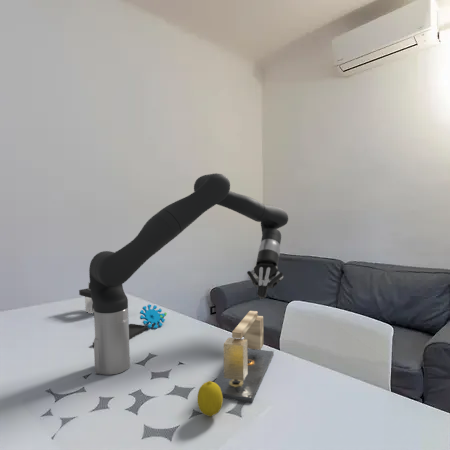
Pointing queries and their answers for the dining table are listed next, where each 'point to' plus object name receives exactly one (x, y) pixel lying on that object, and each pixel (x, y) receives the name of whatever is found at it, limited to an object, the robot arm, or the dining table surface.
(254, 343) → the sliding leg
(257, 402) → the dining table surface
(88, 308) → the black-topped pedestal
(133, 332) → the smart home device
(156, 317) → the blue knobbed spoke wheel
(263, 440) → the dining table surface
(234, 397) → the bolt plate
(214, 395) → the lemon
